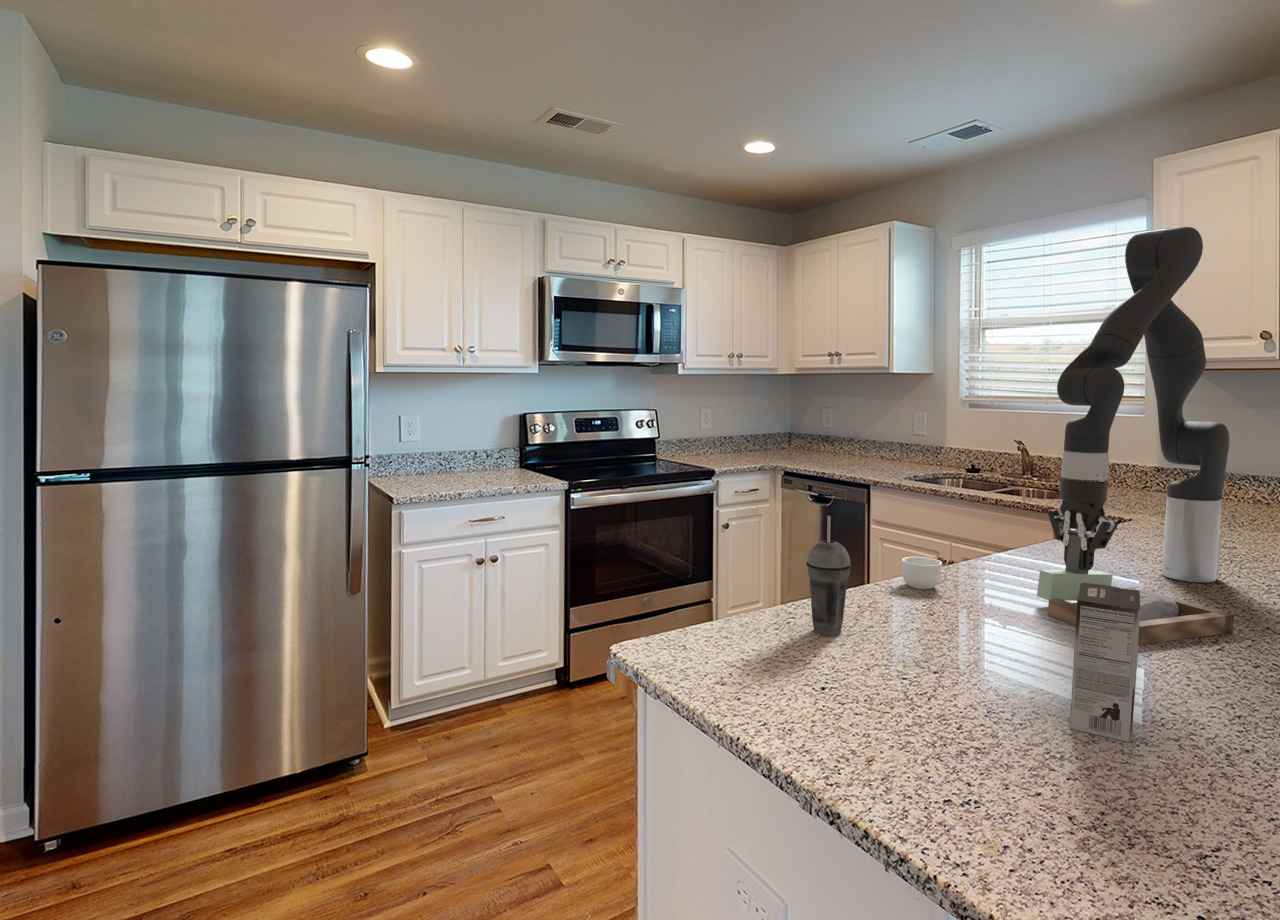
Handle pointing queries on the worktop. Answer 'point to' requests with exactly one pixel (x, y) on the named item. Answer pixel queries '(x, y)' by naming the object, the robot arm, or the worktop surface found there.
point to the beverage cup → (828, 584)
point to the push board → (1069, 576)
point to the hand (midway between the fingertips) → (1078, 567)
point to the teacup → (922, 572)
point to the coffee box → (1105, 661)
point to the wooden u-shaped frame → (1163, 621)
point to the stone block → (1156, 606)
